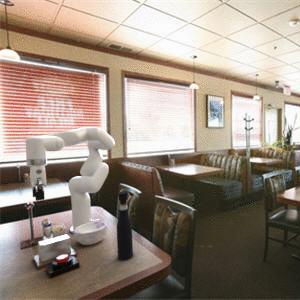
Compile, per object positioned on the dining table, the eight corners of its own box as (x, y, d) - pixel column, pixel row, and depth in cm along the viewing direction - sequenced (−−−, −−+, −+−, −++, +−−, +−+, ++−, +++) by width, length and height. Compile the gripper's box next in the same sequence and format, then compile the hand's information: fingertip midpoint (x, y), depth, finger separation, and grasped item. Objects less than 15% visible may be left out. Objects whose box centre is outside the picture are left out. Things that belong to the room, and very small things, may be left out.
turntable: (69, 248, 116) (69, 245, 116) (76, 256, 108) (76, 253, 107) (33, 259, 105) (33, 256, 105) (38, 269, 97) (38, 266, 97)
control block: (73, 260, 104) (73, 252, 104) (79, 267, 99) (78, 258, 98) (46, 270, 97) (45, 261, 96) (50, 278, 91) (49, 268, 91)
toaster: (67, 248, 112) (66, 233, 112) (70, 252, 109) (70, 237, 108) (38, 257, 104) (37, 241, 104) (41, 261, 100) (40, 245, 100)
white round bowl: (67, 245, 119) (66, 230, 118) (93, 233, 133) (92, 219, 132) (89, 250, 113) (88, 234, 113) (114, 237, 128) (113, 223, 127)
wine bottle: (136, 254, 109) (133, 191, 107) (126, 261, 103) (123, 194, 101) (125, 252, 111) (122, 190, 109) (114, 259, 105) (111, 193, 103)
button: (66, 257, 100) (66, 253, 100) (69, 260, 98) (69, 256, 97) (55, 260, 97) (55, 256, 97) (57, 264, 95) (57, 260, 95)
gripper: (50, 163, 107) (51, 200, 108) (43, 160, 119) (45, 194, 120) (28, 164, 102) (30, 203, 103) (24, 162, 114) (26, 196, 115)
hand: (38, 198), depth 111 cm, fingers open, 9 cm apart
